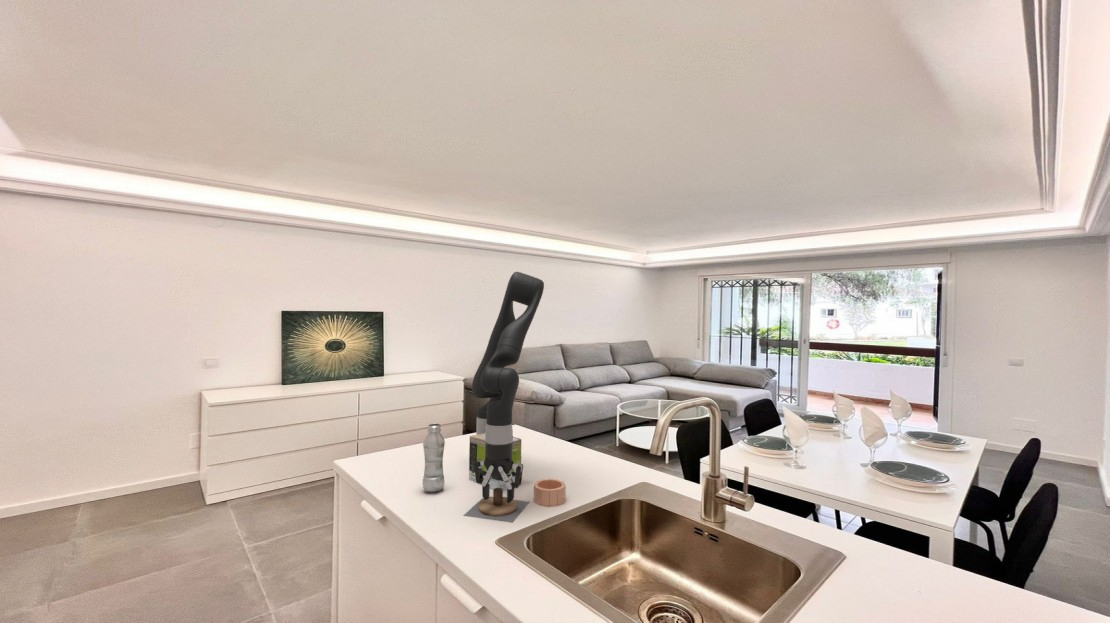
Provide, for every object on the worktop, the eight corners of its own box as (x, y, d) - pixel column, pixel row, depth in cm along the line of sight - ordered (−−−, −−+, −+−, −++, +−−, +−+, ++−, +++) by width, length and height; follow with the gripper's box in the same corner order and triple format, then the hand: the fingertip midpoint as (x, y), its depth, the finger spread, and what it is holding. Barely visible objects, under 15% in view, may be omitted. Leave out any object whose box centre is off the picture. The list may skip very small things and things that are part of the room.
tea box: (522, 484, 148) (522, 438, 148) (497, 493, 141) (498, 444, 141) (491, 473, 159) (492, 429, 159) (467, 480, 151) (468, 435, 151)
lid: (472, 513, 125) (472, 494, 125) (487, 499, 135) (487, 481, 135) (508, 518, 123) (509, 498, 123) (521, 503, 133) (522, 484, 133)
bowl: (529, 506, 132) (530, 488, 132) (539, 494, 141) (539, 477, 141) (560, 509, 130) (560, 491, 130) (568, 497, 139) (568, 480, 139)
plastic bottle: (449, 488, 144) (450, 423, 144) (434, 496, 138) (435, 428, 138) (432, 485, 147) (433, 421, 147) (417, 492, 140) (418, 426, 141)
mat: (463, 516, 124) (463, 515, 124) (484, 497, 138) (484, 495, 138) (512, 524, 120) (512, 522, 120) (529, 503, 134) (529, 501, 134)
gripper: (469, 441, 127) (468, 502, 127) (518, 445, 124) (517, 509, 123) (480, 434, 135) (479, 492, 135) (528, 438, 131) (527, 498, 131)
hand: (498, 500), depth 129 cm, fingers open, 6 cm apart
